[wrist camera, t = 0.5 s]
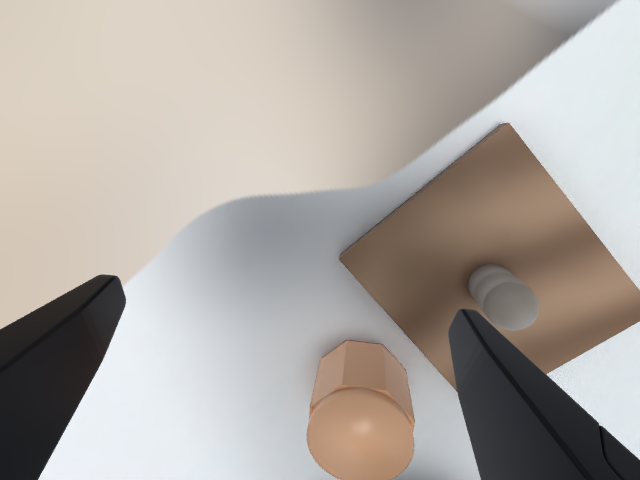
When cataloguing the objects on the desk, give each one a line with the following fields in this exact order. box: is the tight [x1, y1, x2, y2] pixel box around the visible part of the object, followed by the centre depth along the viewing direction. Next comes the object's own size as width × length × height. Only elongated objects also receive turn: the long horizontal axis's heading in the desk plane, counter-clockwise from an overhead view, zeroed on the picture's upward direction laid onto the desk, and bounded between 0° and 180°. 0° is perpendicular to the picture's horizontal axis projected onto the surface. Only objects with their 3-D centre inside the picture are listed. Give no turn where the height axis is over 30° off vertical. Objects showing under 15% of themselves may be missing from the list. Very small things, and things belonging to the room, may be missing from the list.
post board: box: [339, 123, 640, 391], centre depth 19 cm, size 14×12×5 cm
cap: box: [307, 340, 415, 480], centre depth 22 cm, size 6×6×6 cm
